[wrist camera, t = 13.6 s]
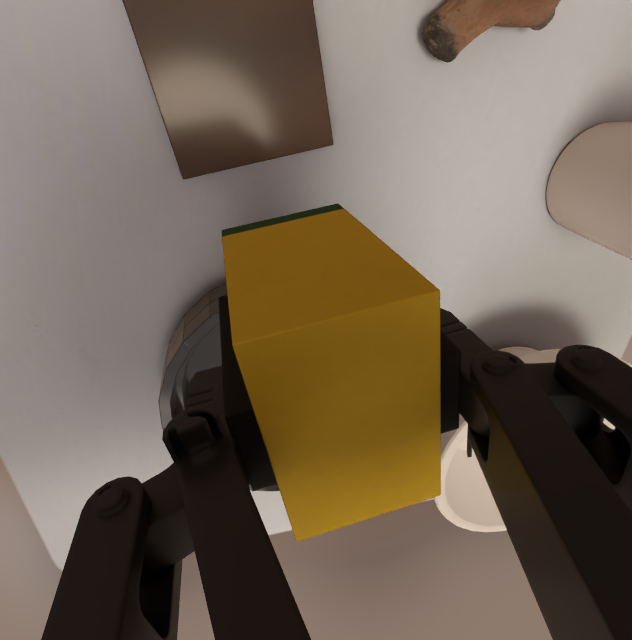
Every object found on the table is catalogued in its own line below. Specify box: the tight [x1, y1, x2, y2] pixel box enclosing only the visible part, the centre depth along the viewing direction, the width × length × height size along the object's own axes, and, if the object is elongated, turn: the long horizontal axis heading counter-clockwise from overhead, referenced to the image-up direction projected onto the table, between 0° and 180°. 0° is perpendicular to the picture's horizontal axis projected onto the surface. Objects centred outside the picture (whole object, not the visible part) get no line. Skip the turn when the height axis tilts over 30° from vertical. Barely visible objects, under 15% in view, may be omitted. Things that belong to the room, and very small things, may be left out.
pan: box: [159, 283, 280, 491], centre depth 34 cm, size 20×20×4 cm
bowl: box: [434, 346, 632, 532], centre depth 40 cm, size 21×21×8 cm
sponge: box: [222, 204, 441, 541], centre depth 14 cm, size 7×4×8 cm, turn 9°
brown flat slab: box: [123, 0, 333, 179], centre depth 23 cm, size 14×10×1 cm
